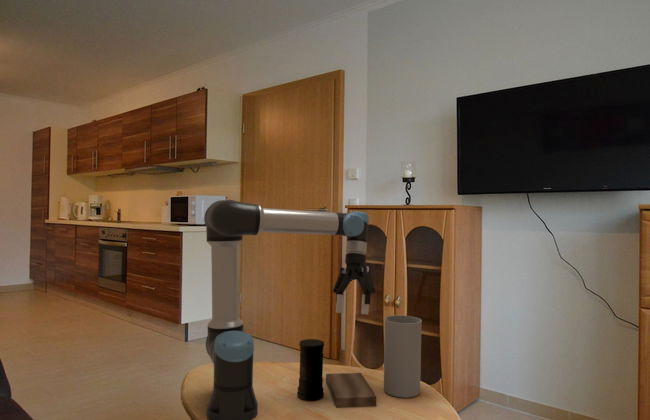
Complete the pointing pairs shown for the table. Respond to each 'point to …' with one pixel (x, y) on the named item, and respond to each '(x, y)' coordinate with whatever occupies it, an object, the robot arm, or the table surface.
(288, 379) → the table surface
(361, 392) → the shelf board
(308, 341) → the container
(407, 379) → the cylinder vase
